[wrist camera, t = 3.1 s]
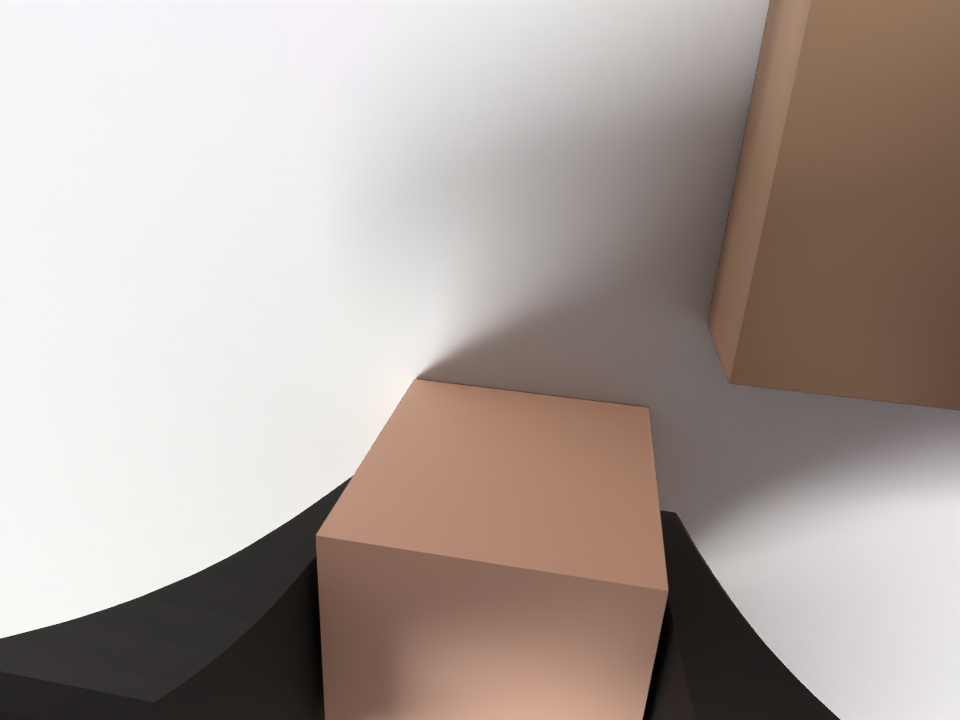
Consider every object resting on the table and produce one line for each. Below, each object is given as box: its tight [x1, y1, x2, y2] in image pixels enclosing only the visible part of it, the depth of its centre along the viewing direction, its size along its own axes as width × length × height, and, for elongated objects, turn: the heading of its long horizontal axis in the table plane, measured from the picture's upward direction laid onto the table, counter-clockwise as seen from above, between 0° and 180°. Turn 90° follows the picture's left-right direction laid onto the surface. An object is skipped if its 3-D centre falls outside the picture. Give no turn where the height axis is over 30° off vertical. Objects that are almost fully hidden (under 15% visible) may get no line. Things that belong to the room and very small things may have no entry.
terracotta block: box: [316, 379, 668, 720], centre depth 12 cm, size 4×4×5 cm
